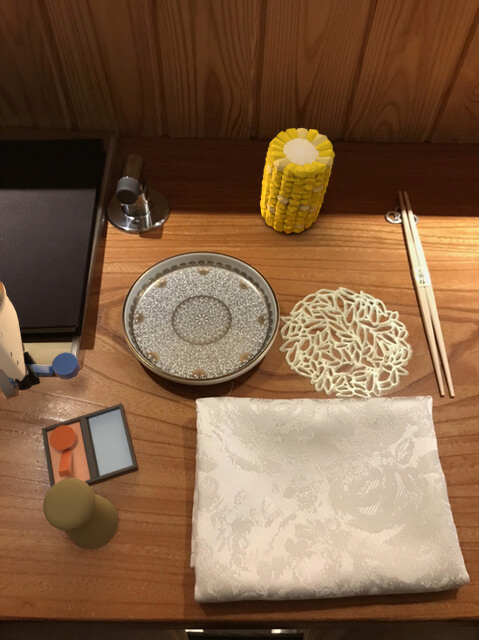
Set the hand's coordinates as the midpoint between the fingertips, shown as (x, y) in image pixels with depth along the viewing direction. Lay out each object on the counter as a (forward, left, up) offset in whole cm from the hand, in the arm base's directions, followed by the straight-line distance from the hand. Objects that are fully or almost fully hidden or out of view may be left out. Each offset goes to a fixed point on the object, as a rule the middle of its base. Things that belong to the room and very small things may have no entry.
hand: (26, 378), depth 70 cm
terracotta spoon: (+2, -9, -5) cm, 11 cm away
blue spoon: (+3, 0, -1) cm, 3 cm away
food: (+43, +18, -6) cm, 47 cm away
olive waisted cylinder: (+3, -18, -6) cm, 19 cm away
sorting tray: (+5, -9, -6) cm, 12 cm away
